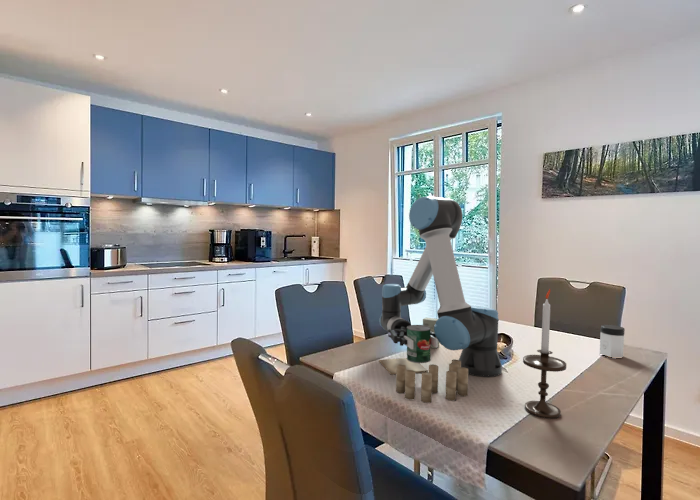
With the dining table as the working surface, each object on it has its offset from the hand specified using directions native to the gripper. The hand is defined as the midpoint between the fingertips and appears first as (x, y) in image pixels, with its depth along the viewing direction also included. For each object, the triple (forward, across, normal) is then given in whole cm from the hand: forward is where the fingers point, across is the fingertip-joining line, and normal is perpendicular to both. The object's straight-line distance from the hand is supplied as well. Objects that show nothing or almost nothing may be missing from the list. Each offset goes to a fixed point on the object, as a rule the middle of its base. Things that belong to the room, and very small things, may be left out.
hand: (424, 344), depth 125 cm
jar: (-14, -89, -15) cm, 92 cm away
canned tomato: (-5, 0, -7) cm, 8 cm away
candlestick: (+23, -26, -15) cm, 37 cm away
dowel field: (+5, 0, -14) cm, 15 cm away
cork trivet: (-18, 0, -13) cm, 23 cm away
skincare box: (-40, -21, -13) cm, 47 cm away
